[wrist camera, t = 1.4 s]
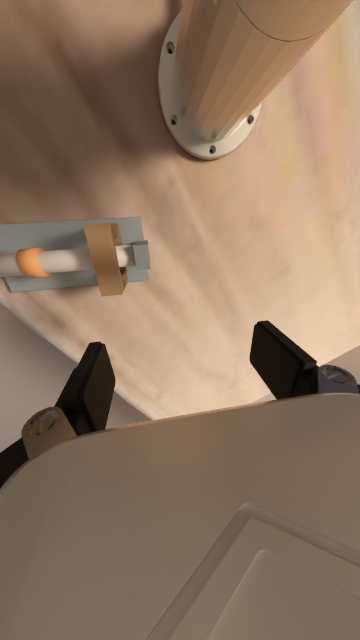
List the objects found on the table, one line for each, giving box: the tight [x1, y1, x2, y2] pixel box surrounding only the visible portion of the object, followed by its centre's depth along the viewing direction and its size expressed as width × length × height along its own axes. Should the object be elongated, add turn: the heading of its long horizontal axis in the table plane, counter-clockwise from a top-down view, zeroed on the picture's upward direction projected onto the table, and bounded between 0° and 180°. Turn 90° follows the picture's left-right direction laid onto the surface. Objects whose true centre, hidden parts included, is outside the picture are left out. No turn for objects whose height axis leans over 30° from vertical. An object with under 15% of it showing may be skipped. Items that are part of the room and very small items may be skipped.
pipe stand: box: [0, 217, 150, 292], centre depth 25 cm, size 9×21×8 cm, turn 93°
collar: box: [83, 223, 128, 296], centre depth 24 cm, size 8×2×7 cm, turn 3°
